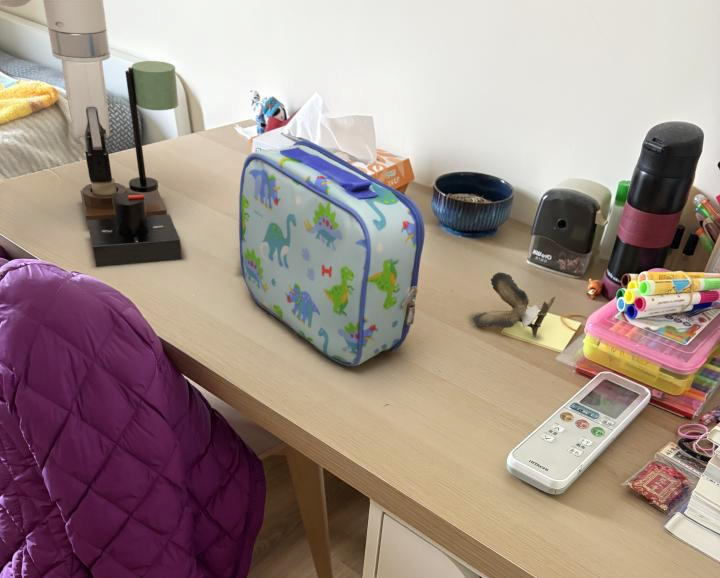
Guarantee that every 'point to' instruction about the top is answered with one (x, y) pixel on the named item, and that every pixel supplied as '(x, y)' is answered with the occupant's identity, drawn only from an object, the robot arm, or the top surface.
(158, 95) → the desk lamp
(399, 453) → the top surface
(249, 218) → the lunch box
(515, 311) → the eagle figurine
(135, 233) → the dimmer knob
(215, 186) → the top surface
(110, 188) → the lamp button
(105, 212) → the lamp base
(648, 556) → the top surface
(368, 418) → the top surface
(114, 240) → the dimmer plate
